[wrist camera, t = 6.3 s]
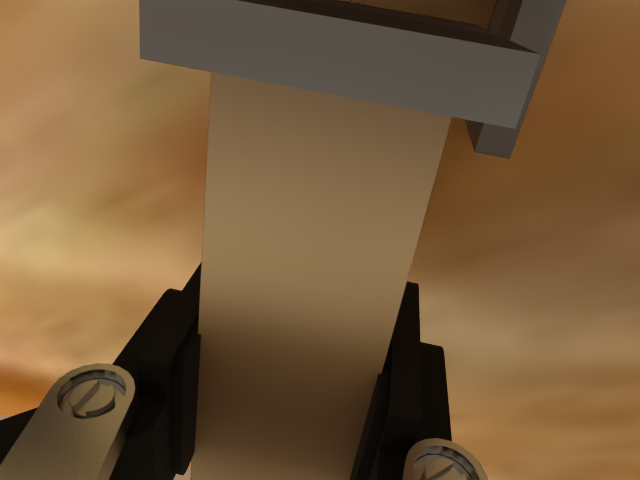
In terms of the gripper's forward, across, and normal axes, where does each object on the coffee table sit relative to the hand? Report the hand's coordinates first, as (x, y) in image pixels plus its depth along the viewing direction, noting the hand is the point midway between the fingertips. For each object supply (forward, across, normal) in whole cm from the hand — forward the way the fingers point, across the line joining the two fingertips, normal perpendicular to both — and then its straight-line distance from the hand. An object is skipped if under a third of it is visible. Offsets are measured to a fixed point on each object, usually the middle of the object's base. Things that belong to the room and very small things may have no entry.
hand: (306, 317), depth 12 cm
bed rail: (+1, 0, 0) cm, 1 cm away
